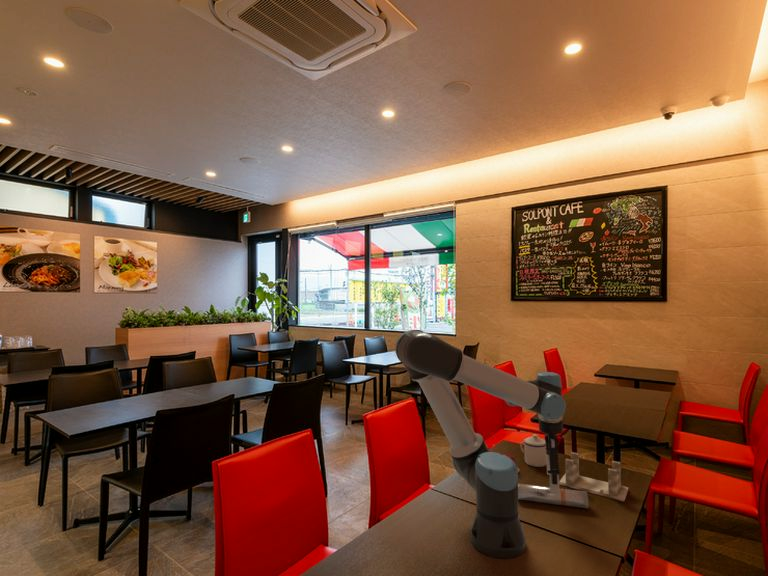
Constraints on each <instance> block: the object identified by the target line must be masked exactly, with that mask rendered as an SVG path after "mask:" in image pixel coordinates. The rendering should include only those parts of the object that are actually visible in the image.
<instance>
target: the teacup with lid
mask: <svg viewBox="0 0 768 576" xmlns="http://www.w3.org/2000/svg"><path fill="white" fill-rule="evenodd" d="M523 440H524V441H521V442H520V450H521V451H522V453H524V462H525V463H526V465H528V466H531V467H537V468H543V467H546V466H547V459H546V455H548V454H546V443H545V439H544V438H541V437H539V436H538V434H532V436H529V437H527V438H525V439H523Z"/></svg>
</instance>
